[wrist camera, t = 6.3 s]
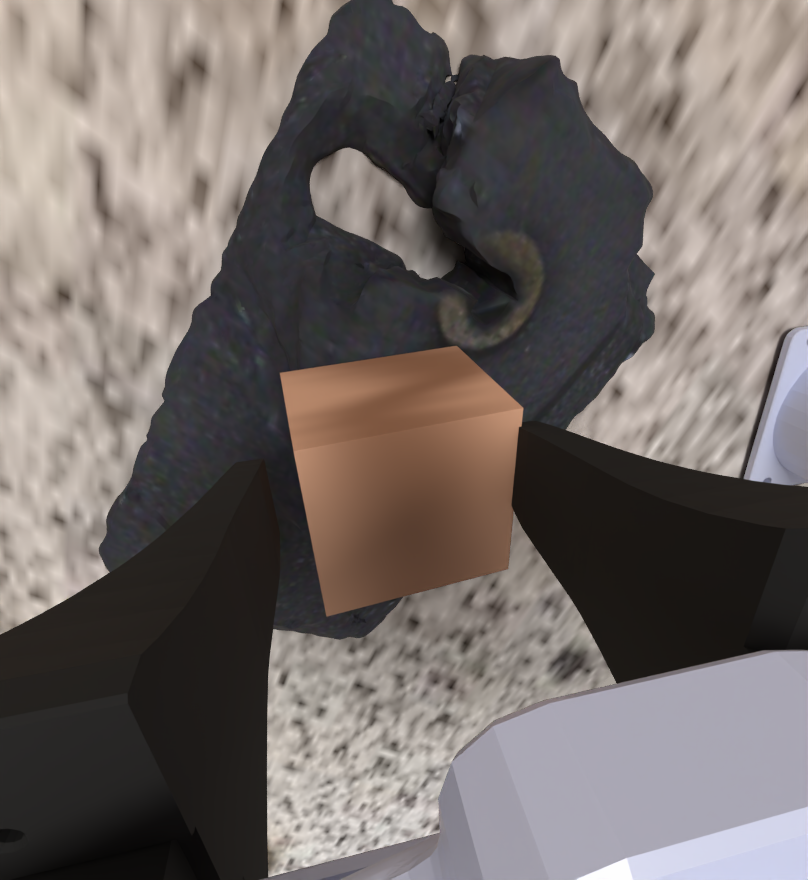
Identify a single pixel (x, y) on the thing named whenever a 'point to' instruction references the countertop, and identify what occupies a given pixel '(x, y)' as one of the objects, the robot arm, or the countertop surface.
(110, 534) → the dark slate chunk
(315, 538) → the terracotta block
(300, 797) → the countertop surface
